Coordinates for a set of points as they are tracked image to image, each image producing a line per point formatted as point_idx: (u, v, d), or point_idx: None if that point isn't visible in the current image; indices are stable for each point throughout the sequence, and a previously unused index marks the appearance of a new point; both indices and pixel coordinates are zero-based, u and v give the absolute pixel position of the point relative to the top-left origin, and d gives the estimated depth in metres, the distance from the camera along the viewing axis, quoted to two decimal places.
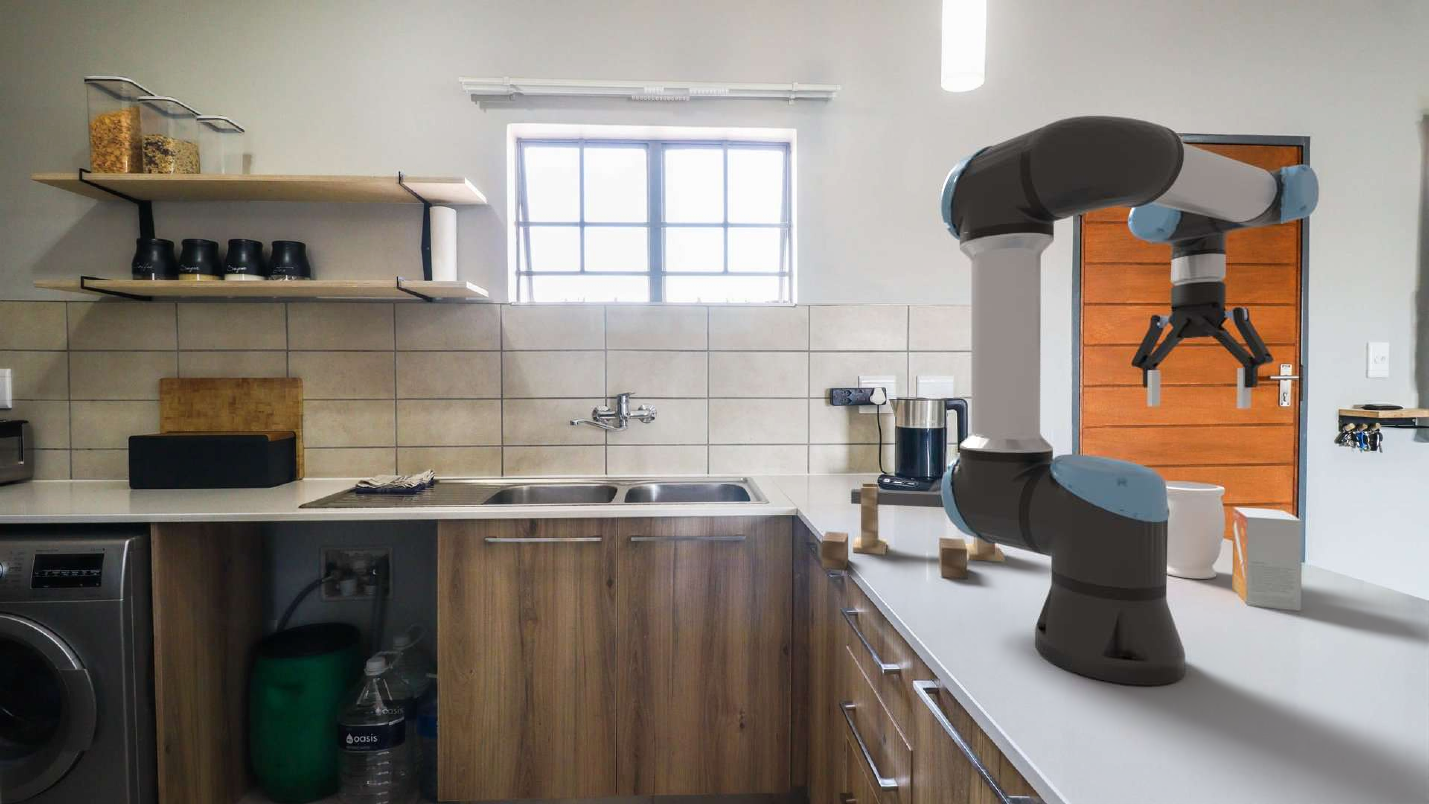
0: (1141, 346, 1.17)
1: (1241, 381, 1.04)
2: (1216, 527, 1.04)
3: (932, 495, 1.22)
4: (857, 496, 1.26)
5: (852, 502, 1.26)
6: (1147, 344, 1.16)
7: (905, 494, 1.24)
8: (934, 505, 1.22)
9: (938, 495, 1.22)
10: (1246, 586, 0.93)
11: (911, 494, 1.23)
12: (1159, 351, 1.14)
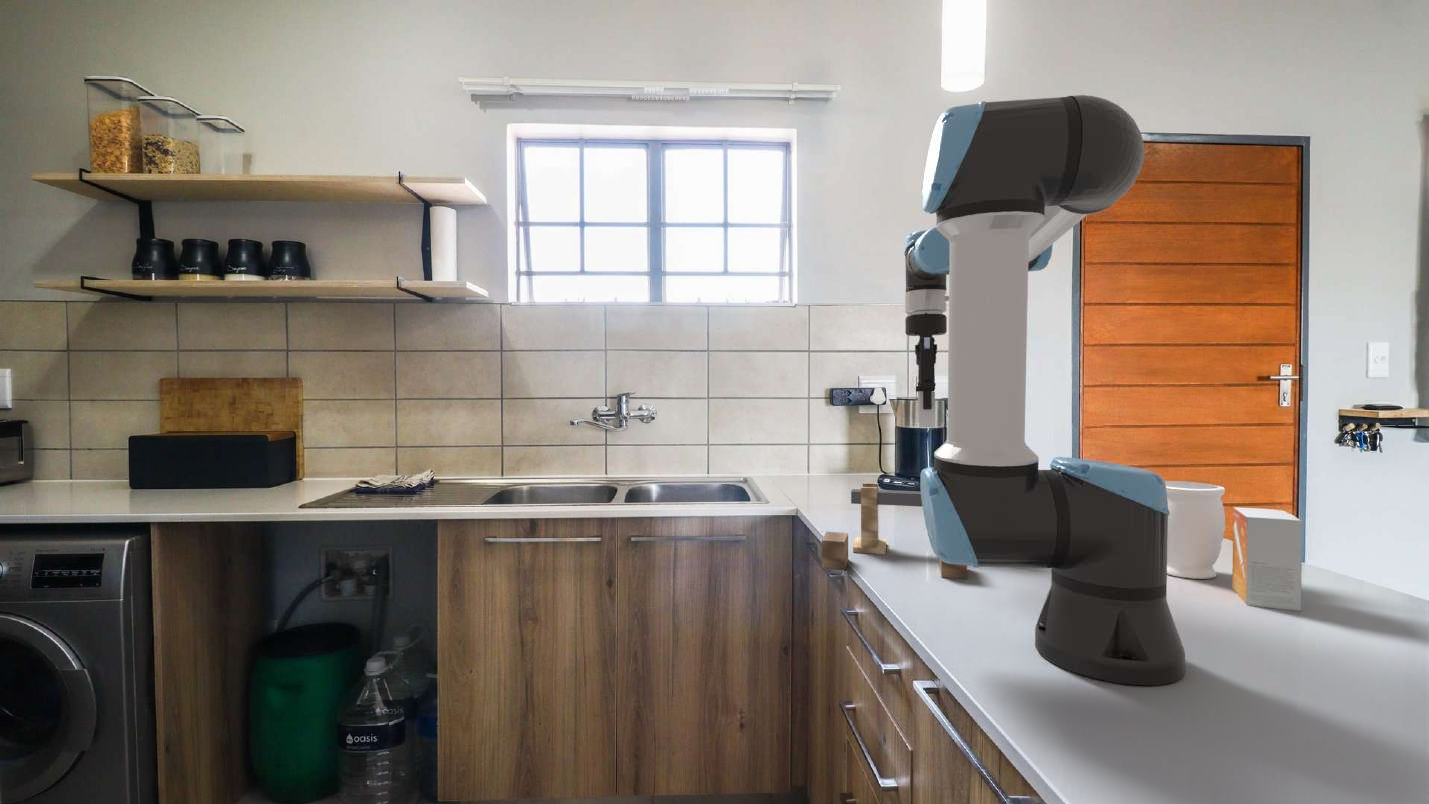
0: (918, 369, 1.32)
1: (919, 403, 1.17)
2: (1216, 527, 1.04)
3: None
4: (857, 496, 1.26)
5: (852, 502, 1.26)
6: (918, 367, 1.31)
7: (905, 494, 1.24)
8: None
9: None
10: (1246, 586, 0.93)
11: (911, 494, 1.23)
12: (918, 374, 1.29)
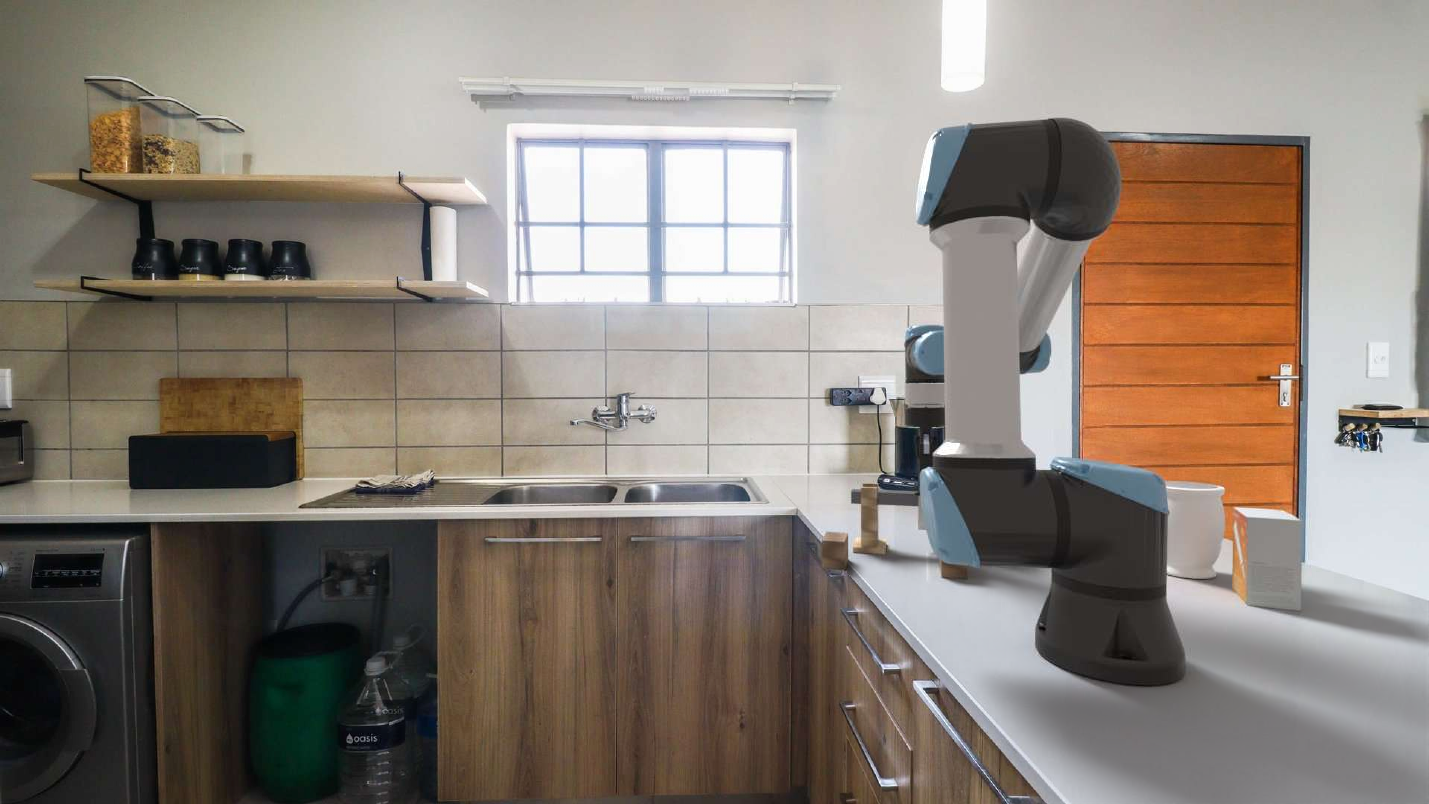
0: None
1: (918, 506, 1.22)
2: (1216, 527, 1.04)
3: None
4: (857, 496, 1.26)
5: (852, 502, 1.26)
6: (918, 463, 1.28)
7: (905, 494, 1.24)
8: None
9: None
10: (1246, 586, 0.93)
11: (911, 494, 1.23)
12: None
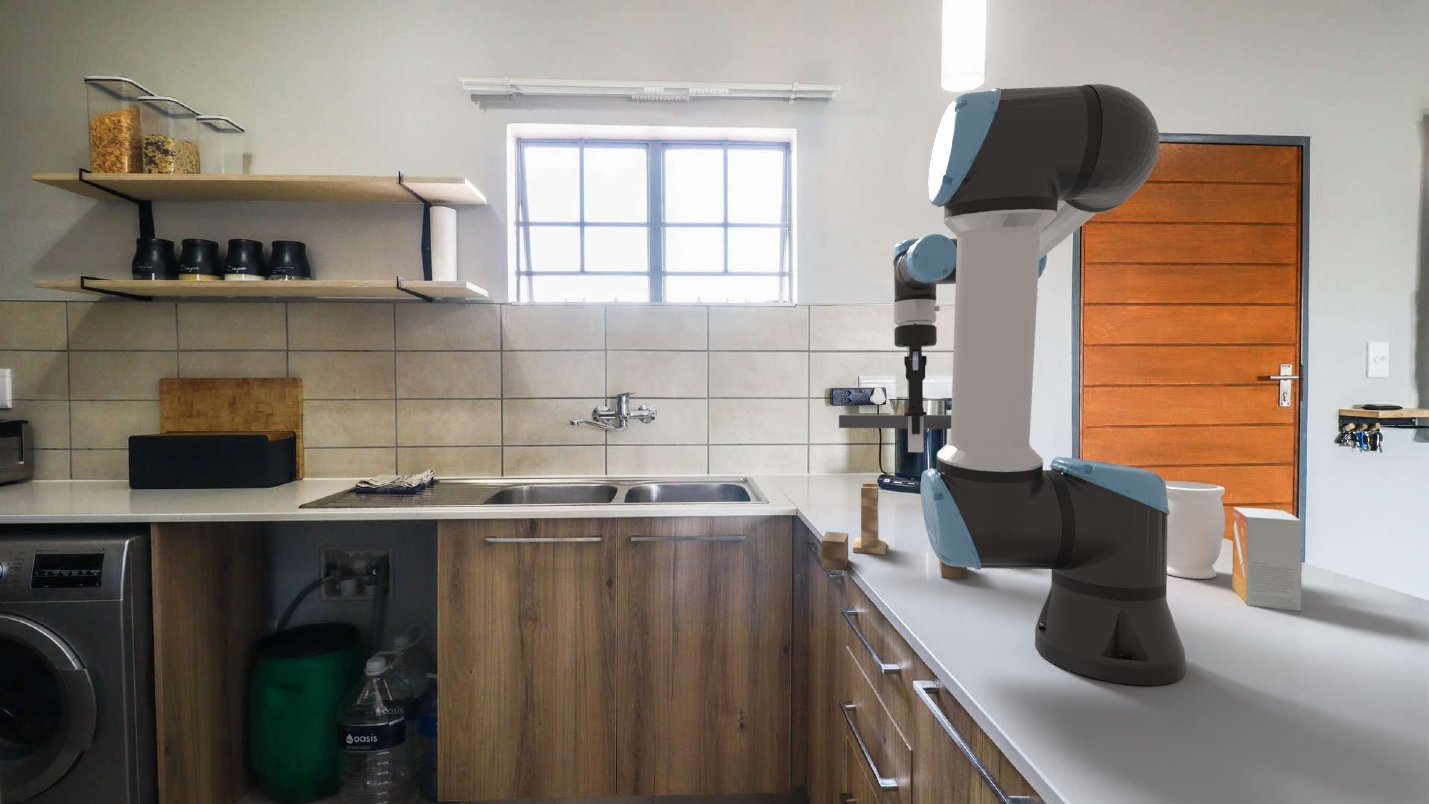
0: None
1: (908, 428, 1.18)
2: (1216, 527, 1.04)
3: (922, 416, 1.18)
4: (845, 420, 1.22)
5: (840, 426, 1.22)
6: None
7: (894, 416, 1.19)
8: (924, 426, 1.18)
9: (928, 416, 1.18)
10: (1246, 586, 0.93)
11: (901, 416, 1.19)
12: None
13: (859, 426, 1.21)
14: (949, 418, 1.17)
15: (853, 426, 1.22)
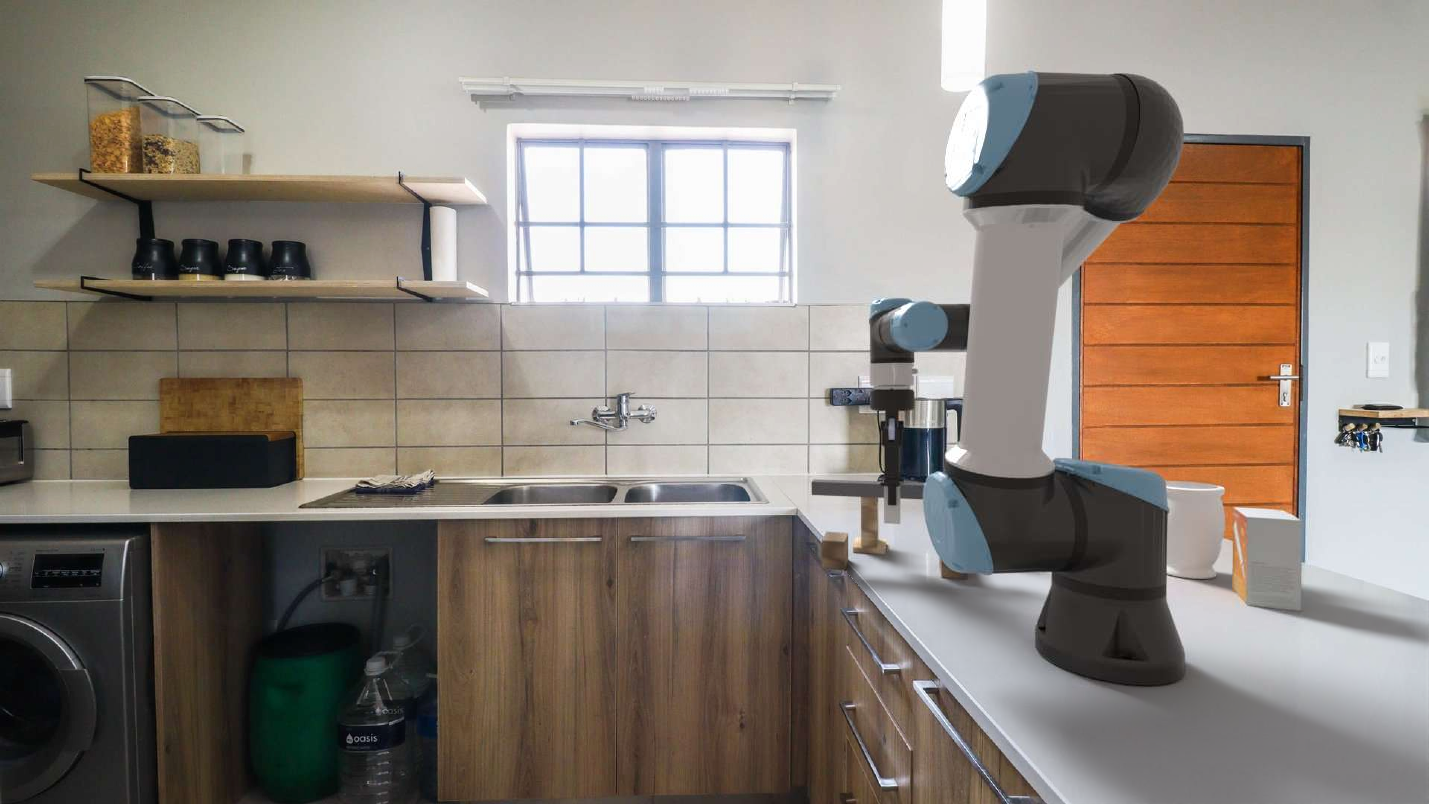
0: None
1: (884, 498, 1.12)
2: (1216, 527, 1.04)
3: (899, 485, 1.11)
4: (818, 487, 1.15)
5: (812, 493, 1.16)
6: None
7: (870, 484, 1.13)
8: (901, 496, 1.11)
9: (905, 485, 1.11)
10: (1246, 586, 0.93)
11: (876, 484, 1.12)
12: None
13: (833, 494, 1.15)
14: None
15: (826, 494, 1.15)
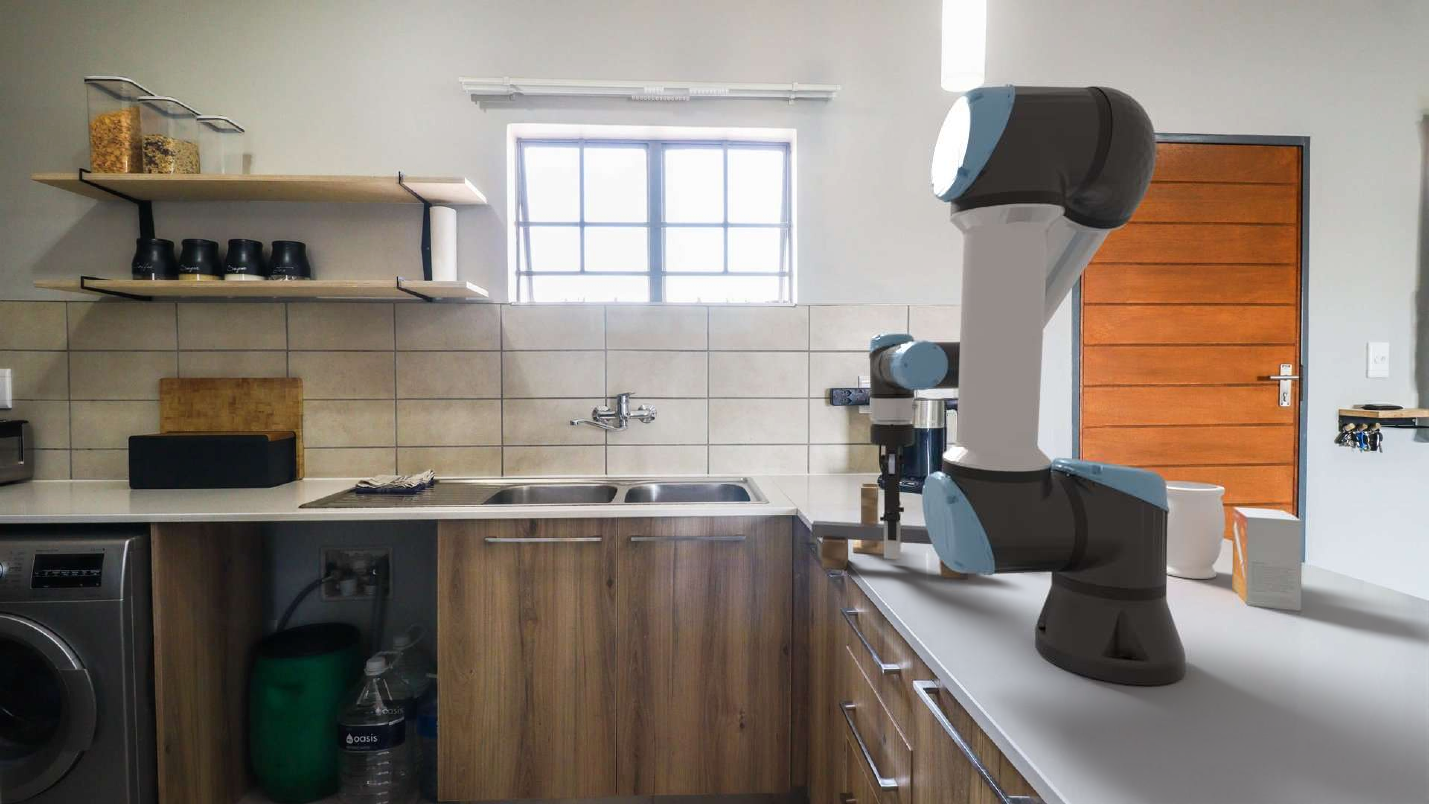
0: None
1: (884, 532, 1.10)
2: (1216, 527, 1.04)
3: None
4: (818, 529, 1.15)
5: (813, 536, 1.16)
6: None
7: (870, 528, 1.13)
8: (901, 540, 1.11)
9: (905, 529, 1.11)
10: (1246, 586, 0.93)
11: (876, 528, 1.13)
12: None
13: (833, 536, 1.15)
14: (927, 533, 1.10)
15: (827, 536, 1.15)
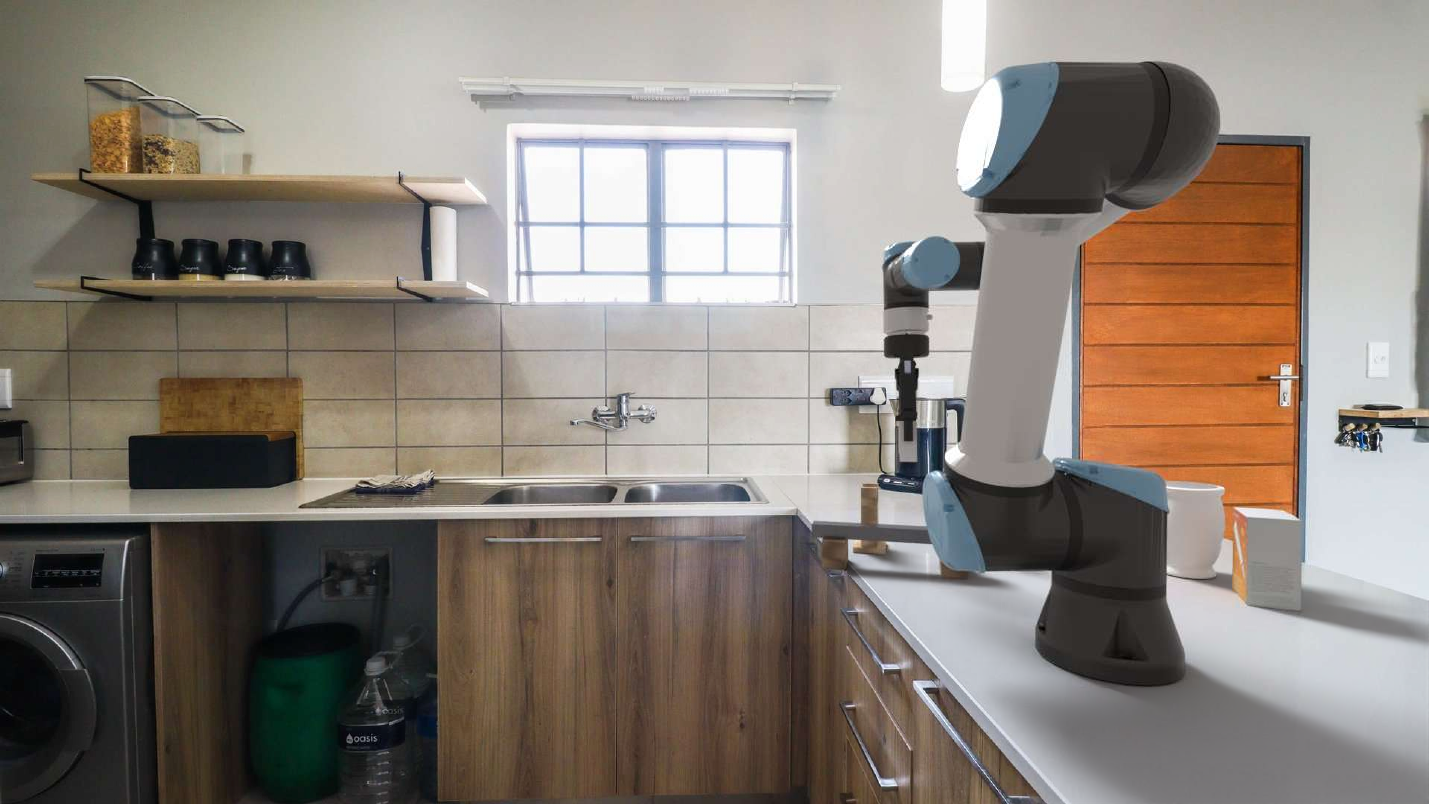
0: None
1: None
2: (1216, 527, 1.04)
3: (899, 529, 1.11)
4: (818, 529, 1.15)
5: (813, 536, 1.16)
6: None
7: (870, 528, 1.13)
8: (901, 540, 1.11)
9: (905, 529, 1.11)
10: (1246, 586, 0.93)
11: (876, 528, 1.13)
12: (899, 400, 1.16)
13: (833, 536, 1.15)
14: (927, 533, 1.10)
15: (827, 536, 1.15)
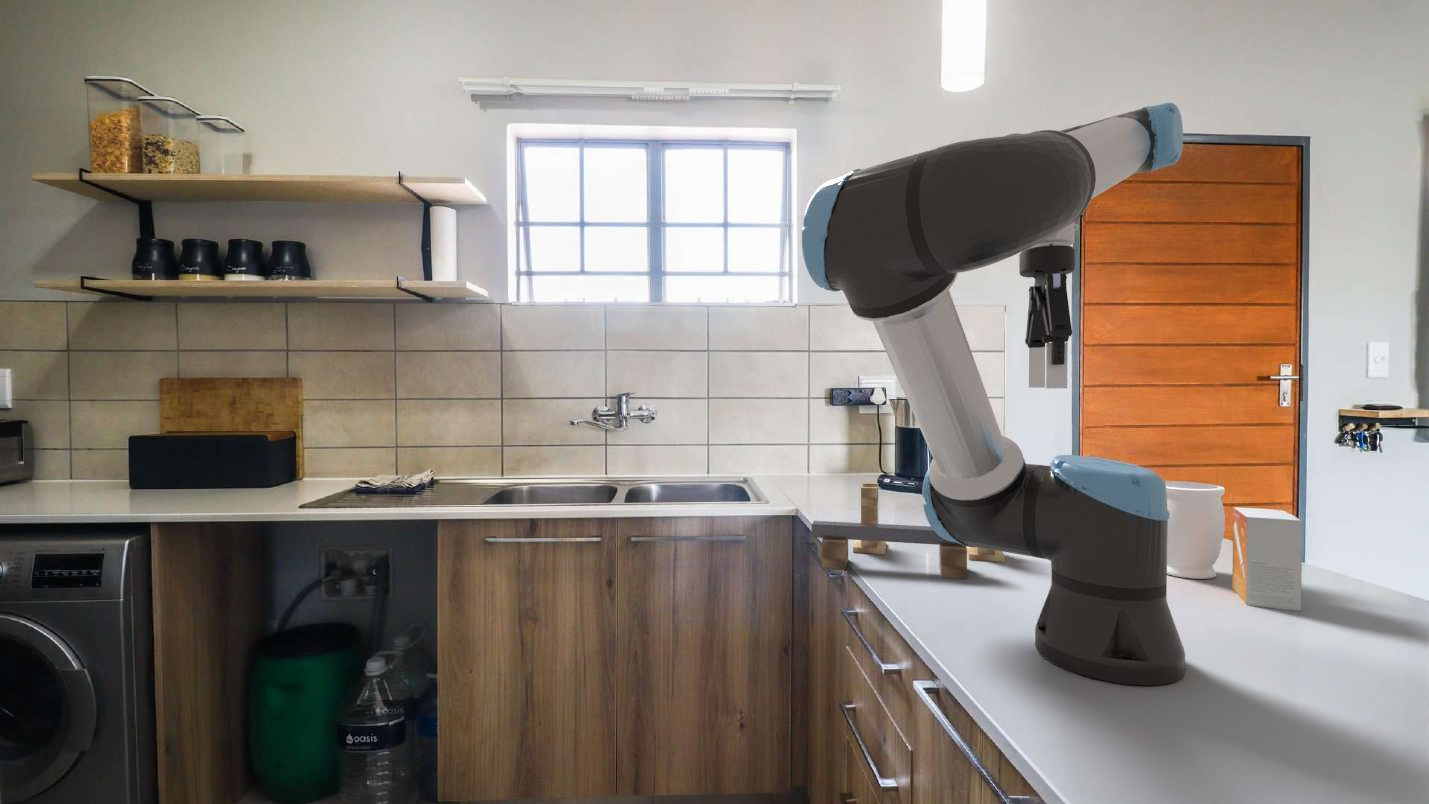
0: (1027, 321, 1.06)
1: (1046, 357, 0.92)
2: (1216, 527, 1.04)
3: (899, 529, 1.11)
4: (818, 529, 1.15)
5: (813, 536, 1.16)
6: (1028, 319, 1.05)
7: (870, 528, 1.13)
8: (901, 540, 1.11)
9: (905, 529, 1.11)
10: (1246, 586, 0.93)
11: (876, 528, 1.13)
12: (1031, 326, 1.03)
13: (833, 536, 1.15)
14: (927, 533, 1.10)
15: (827, 536, 1.15)
